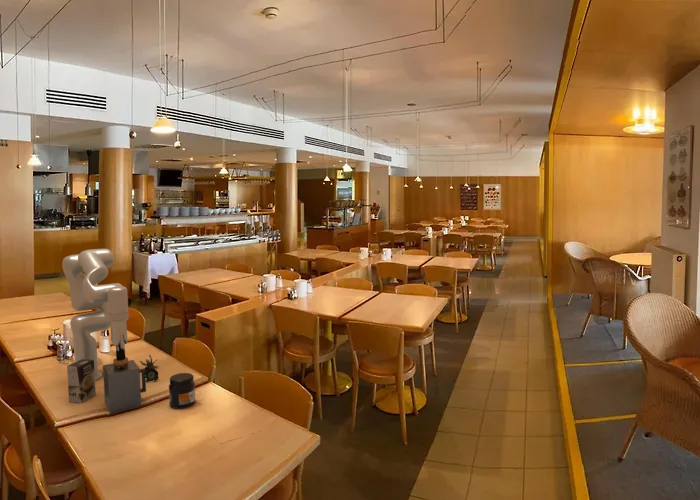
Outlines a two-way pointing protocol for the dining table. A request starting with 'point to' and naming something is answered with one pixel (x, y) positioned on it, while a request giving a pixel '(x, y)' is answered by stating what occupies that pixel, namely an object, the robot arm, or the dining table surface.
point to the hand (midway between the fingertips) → (120, 359)
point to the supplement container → (182, 390)
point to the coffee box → (81, 380)
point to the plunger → (120, 363)
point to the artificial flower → (150, 370)
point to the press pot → (123, 387)
